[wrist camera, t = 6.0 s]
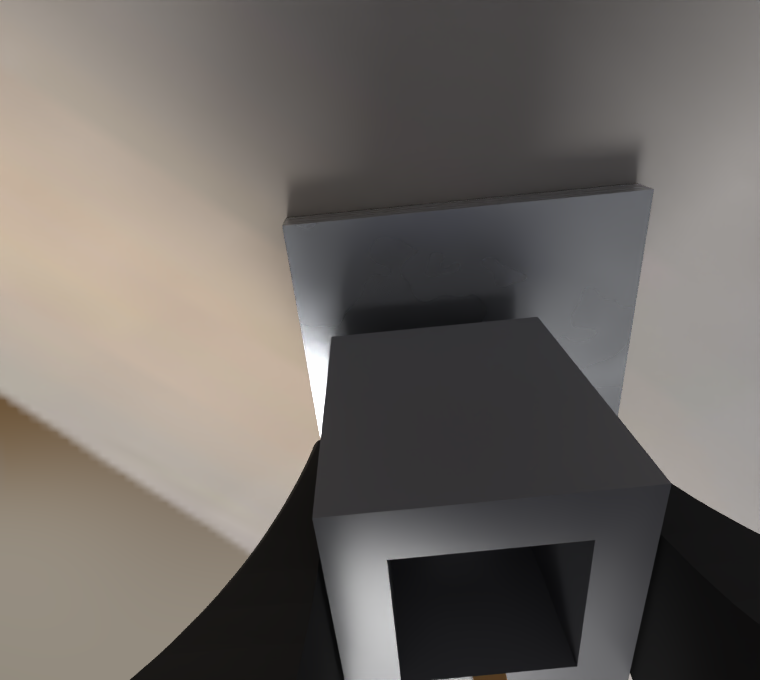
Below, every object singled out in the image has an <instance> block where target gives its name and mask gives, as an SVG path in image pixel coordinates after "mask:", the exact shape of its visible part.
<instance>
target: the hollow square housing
mask: <svg viewBox="0 0 760 680" xmlns="http://www.w3.org/2000/svg"><path fill="white" fill-rule="evenodd" d="M670 488H671V483H670V481H669V480H668V479H667V478H666V476H665V475H664V474H663V473H662V471H661V470H660V469H659V468H658V466H657V465H656V464H655V463H654V461H653V460H652V459H651V458H650V456H649V455H648V454H647V453H646V451H645V450H644V449H643V448H642V446H641V445H640V444H639V443H638V441H637V440H636V439H635V438H634V436H633V435H632V434H631V433H630V431H629V430H628V429H627V428H626V426H625V425H624V424H623V423H622V421H621V420H620V419H619V418H618V416H617V415H616V414H615V413H614V411H613V410H612V409H611V408H610V406H609V405H608V404H607V403H606V401H605V400H604V399H603V398H602V396H601V395H600V394H599V393H598V391H597V390H596V389H595V388H594V386H593V385H592V384H591V383H590V381H589V380H588V379H587V378H586V376H585V375H584V374H583V373H582V371H581V370H580V369H579V368H578V366H577V365H576V364H575V363H574V361H573V360H572V359H571V358H570V356H569V355H568V354H567V353H566V351H565V350H564V349H563V348H562V346H561V345H560V344H559V343H558V341H557V340H556V339H555V338H554V336H553V335H552V334H551V333H550V331H549V330H548V329H547V328H546V326H545V325H544V324H543V323H542V321H541V320H540V319H539V318H538V317H530V318H519V319H509V320H499V321H488V322H478V323H468V324H458V325H447V326H437V327H427V328H416V329H406V330H396V331H386V332H375V333H365V334H355V335H344V336H334V337H331V344H330V354H329V363H328V373H327V382H326V392H325V402H324V411H323V421H322V430H321V440H320V449H319V459H318V468H317V478H316V487H315V497H314V506H313V516H312V520H313V525H314V530H315V535H316V540H317V545H318V550H319V554H320V559H321V564H322V569H323V574H324V579H325V584H326V589H327V594H328V599H329V604H330V609H331V614H332V619H333V624H334V629H335V634H336V639H337V644H338V649H339V654H340V659H341V664H342V669H343V674H344V679H345V680H628V678H629V674H630V669H631V665H632V660H633V656H634V651H635V647H636V642H637V637H638V633H639V628H640V624H641V619H642V615H643V610H644V606H645V601H646V597H647V592H648V588H649V583H650V579H651V574H652V570H653V565H654V561H655V556H656V552H657V547H658V542H659V538H660V533H661V529H662V524H663V520H664V515H665V511H666V506H667V502H668V497H669V493H670Z"/></svg>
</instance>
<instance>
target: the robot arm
mask: <svg viewBox="0 0 760 680" xmlns="http://www.w3.org/2000/svg"><path fill="white" fill-rule="evenodd" d="M319 449H320V440H318V441H317V443H316V444H315V445H314V447H313V450H312V452H311V454H310V457H309V459H308V461H307V463H306V465H305V467H304V469H303V471H302V473H301V475H300V477H299V479H298V481H297V483H296V485H295V486H294V488H293V490H292V492H291V494H290V495H289V497H288V499H287V501H286V502H285V504H284V506H283V507H282V509H281V511H280V512H279V514H278V515H277V517H276V518H275V520H274V522H273V523H272V525H271V526H270V528H269V529H268V531H267V532H266V534H265V535H264V537H263V538H262V540H261V541H260V543H259V544H258V545H257V547H256V548H255V549H254V551H253V552H252V554H251V555H250V556H249V557H248V559H247V560H246V561H245V563H244V564H243V565H242V567H241V568H240V569H239V570H238V572H237V573H236V574H235V575H234V576H233V578H232V579H231V580H230V581H229V582H228V584H227V585H226V586H225V587H224V588H223V589H222V591H221V592H220V593H219V594H218V596H216V597H215V599H214V600H213V601H212V602H211V603H210V604H209V605H208V606H207V608H206V609H205V610H204V611H203V612H202V613H201V614H200V615H199V616H198V617H197V618H196V619H195V620H194V621H193V622H192V623H191V624H190V625H189V626H188V627H187V628H186V629H185V630H184V631H183V632H182V633H181V634H180V635H179V636H178V637H177V638H176V639H175V640H174V641H173V642H172V643H171V644H170V645H169V646H168V647H167V648H165V649H164V650H163V651H162V652H161V653H160V654H159V655H158V656H157V657H156V658H155V659H153V660H152V661H151V662H150V663H149V664H148V665H146V666H145V667H144V668H143V669H142V670H141V671H140V672H138V673H137V674H136V675H135V676H134V677H133V678H131V679H130V680H345V679H344V674H343V669H342V664H341V659H340V654H339V649H338V644H337V639H336V634H335V629H334V624H333V619H332V614H331V609H330V604H329V599H328V594H327V589H326V584H325V579H324V574H323V569H322V564H321V559H320V554H319V550H318V545H317V540H316V535H315V530H314V525H313V520H312V516H313V506H314V497H315V487H316V478H317V468H318V459H319ZM630 674H631V677H632V679H633V680H760V534H758V533H756V532H754V531H752V530H750V529H748V528H746V527H745V526H743V525H741V524H739V523H737V522H735V521H734V520H732V519H730V518H728V517H726V516H725V515H723V514H721V513H719V512H717V511H716V510H714V509H712V508H710V507H708V506H707V505H705V504H703V503H702V502H700V501H698V500H697V499H695V498H693V497H692V496H690V495H689V494H687V493H686V492H684V491H682V490H681V489H679V488H678V487H676V486H675V485H673V484H672V483H671V488H670V493H669V497H668V502H667V506H666V511H665V515H664V520H663V524H662V529H661V533H660V538H659V542H658V547H657V552H656V556H655V561H654V565H653V570H652V574H651V579H650V583H649V588H648V592H647V597H646V601H645V606H644V610H643V615H642V619H641V624H640V628H639V633H638V637H637V642H636V647H635V651H634V656H633V660H632V665H631V669H630Z"/></svg>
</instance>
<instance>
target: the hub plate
mask: <svg viewBox="0 0 760 680" xmlns="http://www.w3.org/2000/svg"><path fill="white" fill-rule="evenodd" d="M653 191H654V189H652V188H649V187H646V186H644V185H641V184H638V183H634V184H624V185H614V186H604V187H594V188H584V189H573V190H563V191H553V192H543V193H533V194H523V195H513V196H503V197H492V198H482V199H472V200H462V201H452V202H442V203H432V204H421V205H411V206H401V207H391V208H381V209H371V210H361V211H351V212H340V213H330V214H320V215H310V216H300V217H290V218H286V220H285V222H284V224H283V232H284V238H285V243H286V249H287V254H288V260H289V265H290V271H291V277H292V282H293V288H294V293H295V299H296V305H297V310H298V316H299V321H300V327H301V332H302V338H303V344H304V349H305V355H306V360H307V366H308V371H309V377H310V383H311V388H312V394H313V399H314V405H315V411H316V416H317V422H318V427H319V433H320V438H321V430H322V421H323V411H324V402H325V392H326V382H327V373H328V363H329V354H330V344H331V337H334V336H344V335H355V334H365V333H375V332H386V331H396V330H406V329H416V328H427V327H437V326H447V325H458V324H468V323H478V322H488V321H499V320H509V319H519V318H530V317H538V318H539V319H540V320H541V321H542V323H543V324H544V325H545V326H546V328H547V329H548V330H549V331H550V333H551V334H552V335H553V336H554V338H555V339H556V340H557V341H558V343H559V344H560V345H561V346H562V348H563V349H564V350H565V351H566V353H567V354H568V355H569V356H570V358H571V359H572V360H573V361H574V363H575V364H576V365H577V366H578V368H579V369H580V370H581V371H582V373H583V374H584V375H585V376H586V378H587V379H588V380H589V381H590V383H591V384H592V385H593V386H594V388H595V389H596V390H597V391H598V393H599V394H600V395H601V396H602V398H603V399H604V400H605V401H606V403H607V404H608V405H609V406H610V408H611V409H612V410H613V411H614V413H615V414H616V415H617V416H618V411H619V405H620V399H621V392H622V386H623V380H624V373H625V367H626V361H627V354H628V348H629V342H630V336H631V329H632V323H633V317H634V310H635V304H636V298H637V291H638V285H639V279H640V272H641V266H642V260H643V254H644V247H645V241H646V235H647V228H648V222H649V216H650V209H651V203H652V197H653Z"/></svg>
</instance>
